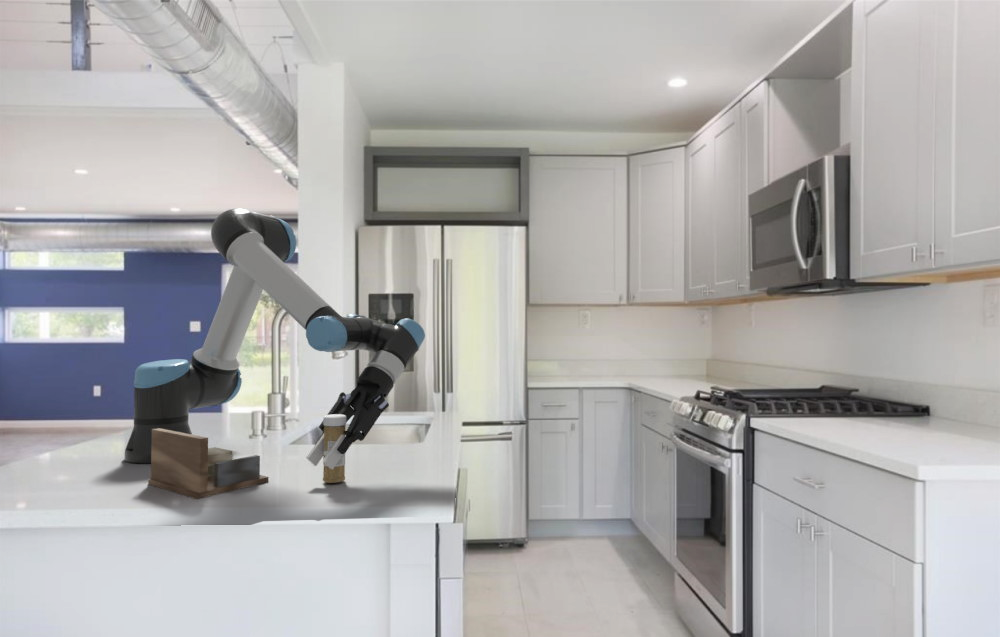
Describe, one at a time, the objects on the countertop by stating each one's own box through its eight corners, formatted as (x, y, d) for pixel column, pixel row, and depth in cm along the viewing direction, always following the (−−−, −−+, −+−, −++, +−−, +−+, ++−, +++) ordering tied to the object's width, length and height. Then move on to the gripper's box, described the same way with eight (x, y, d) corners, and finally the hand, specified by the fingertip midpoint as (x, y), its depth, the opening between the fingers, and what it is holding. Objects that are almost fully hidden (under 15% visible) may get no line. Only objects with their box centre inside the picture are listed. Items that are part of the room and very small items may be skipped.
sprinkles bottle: (324, 478, 124) (324, 413, 124) (346, 477, 124) (347, 413, 124) (321, 484, 119) (322, 417, 119) (344, 483, 120) (345, 416, 120)
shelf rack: (219, 469, 132) (219, 420, 132) (268, 481, 122) (269, 428, 122) (148, 484, 119) (149, 429, 120) (196, 499, 109) (197, 439, 110)
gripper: (417, 389, 130) (359, 480, 116) (361, 384, 139) (302, 468, 126) (400, 366, 125) (338, 458, 112) (344, 362, 135) (281, 447, 121)
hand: (319, 463), depth 119 cm, fingers closed on sprinkles bottle, 4 cm apart
